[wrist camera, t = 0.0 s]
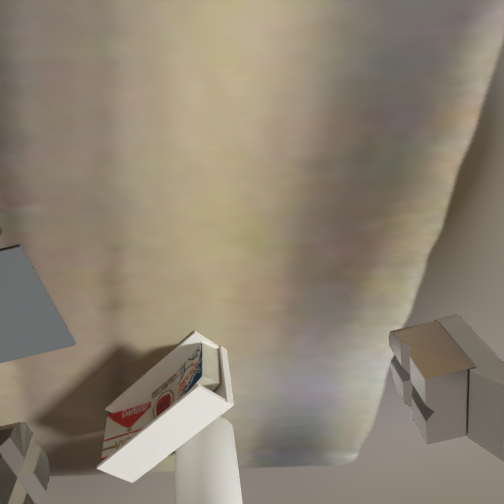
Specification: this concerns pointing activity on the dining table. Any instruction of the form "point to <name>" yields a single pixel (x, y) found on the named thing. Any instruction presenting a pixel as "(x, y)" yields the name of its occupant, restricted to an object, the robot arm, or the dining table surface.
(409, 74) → the dining table surface
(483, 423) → the robot arm
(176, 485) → the alcohol
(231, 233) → the dining table surface
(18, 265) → the rubber mat
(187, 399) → the cigarette display
